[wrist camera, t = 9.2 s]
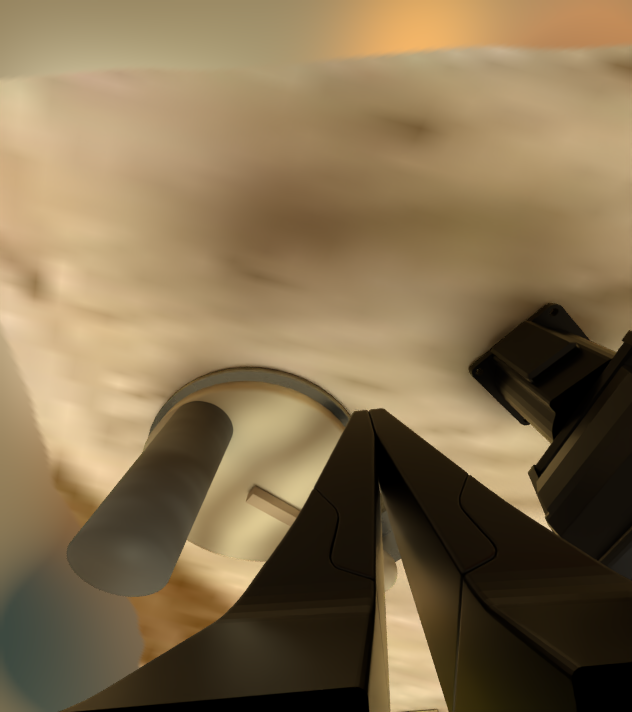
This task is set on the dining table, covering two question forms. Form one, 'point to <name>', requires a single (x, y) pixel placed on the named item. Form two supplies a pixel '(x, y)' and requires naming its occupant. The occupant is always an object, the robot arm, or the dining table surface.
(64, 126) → the dining table surface
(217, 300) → the dining table surface
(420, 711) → the small box
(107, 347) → the dining table surface
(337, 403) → the base
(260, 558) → the disc
